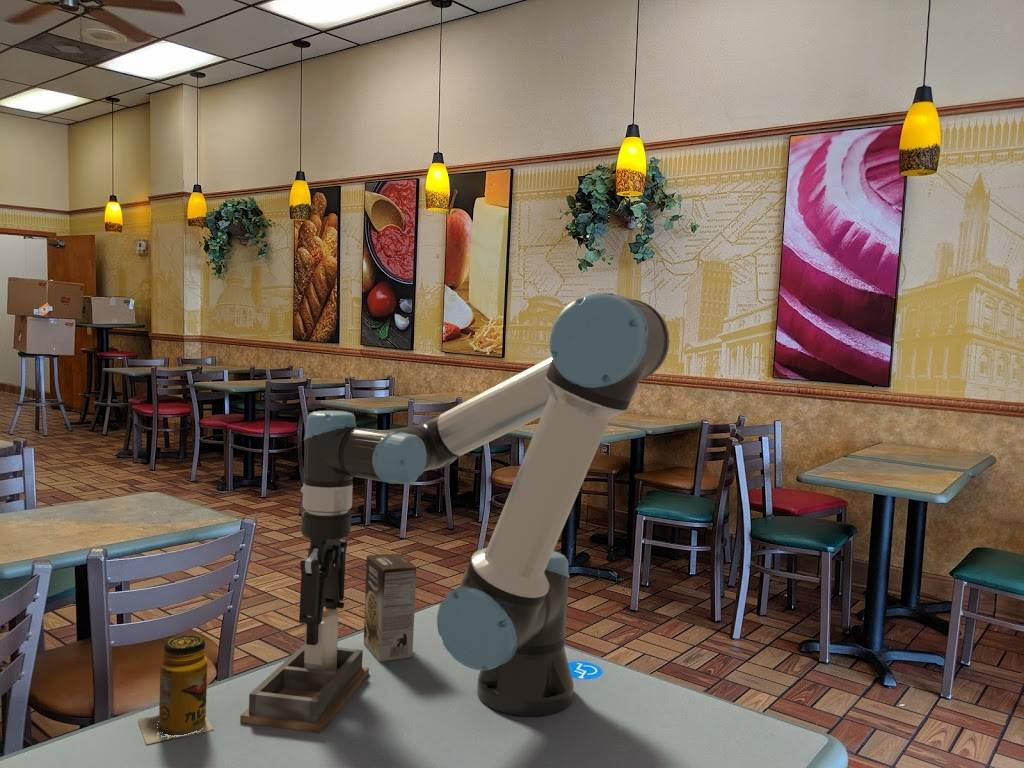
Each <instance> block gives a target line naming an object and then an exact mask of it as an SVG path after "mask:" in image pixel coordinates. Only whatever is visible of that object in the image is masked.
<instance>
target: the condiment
mask: <svg viewBox="0 0 1024 768" xmlns="http://www.w3.org/2000/svg"><path fill="white" fill-rule="evenodd" d="M205 647H206V642H205V639H204V637H203V636H199V635H197V634H196V635H193V634H184V635H183V634H182V635H177V636H174V637H171V638H169V639H167V641H166V642H164V645H163V651H164V652H163V659H162V660H161V663H160V667H159V708H158V710H159V711H158V713H159V714H158V715H156V716H150V717H148V716H147V717H142V718H138V719H137V720H138V725H139V727H140V731H141V734H142V736H143V739H144V741H145V744H146V745H150V744H153V743H159V742H161V741H167V740H171V739H177V738H179V737H176V736H175V737H171V736H172V735H173V736H174V735H184V734H187V735H185V736H183V737H182V738H184V737H188V736H193V735H194V734H192V733H191V732H194V731H196V730H197V732H198V731H200V730H201V731H202V732H201V731H200V732H198V733H196V732H195V733H196V734H195V735H197V734H201V733H206V732H210V731H213V730H214V728H213V726H212V724H211V722H210V721H209V719H208V717H207V715H206V714H207V690H208V689H207V687H208V685H207V684H208V682H207V681H208V658H207V656H206V655H205V654H206V649H205ZM158 721H159V722H158ZM157 724H158V725H157ZM157 727H158V728H157ZM202 728H203V729H202ZM158 732H159V733H160V732H161V733H162V732H163V733H162V735H164V734H168V735H171V736H170V737H171V738H170V737H169V739H167V738H168V737H167V736H166V737H162V738H161V734H159V735H157V733H158ZM188 733H191V734H189V735H188ZM157 736H158V737H157ZM166 739H167V740H166Z"/></svg>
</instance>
